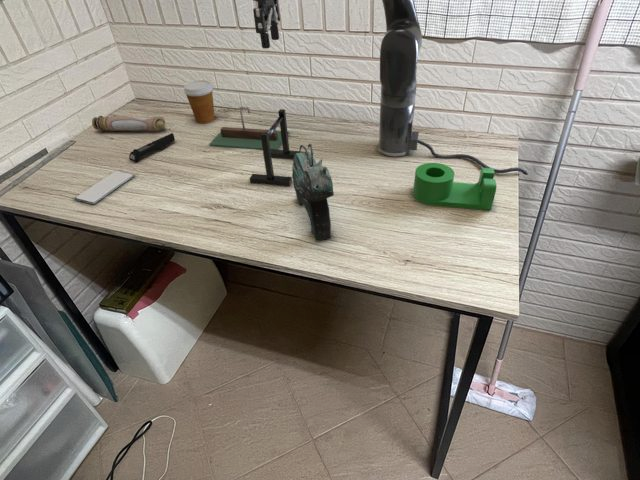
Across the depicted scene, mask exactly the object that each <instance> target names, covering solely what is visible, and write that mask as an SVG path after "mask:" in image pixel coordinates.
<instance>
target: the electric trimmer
mask: <svg viewBox="0 0 640 480" xmlns="http://www.w3.org/2000/svg"><path fill="white" fill-rule="evenodd" d="M174 141H175V133H173V132H171V133H169V134H167V135H164V136H163V137H160V138H158V139H155V140H153V141H151V142H149V143H147V144H145V145H143V146H140V147H138V148H134V149H133V150H132V151H130V153H129V156H128V159H129V160H130V162H132V163H139V162H140V160H141V159H143V158H145V157H147V156H149V155H150V154H152V153H154V152H156V151H160V150H162V149H164V148H165V147H167V146H168V145H170V144H172V143H173V142H174Z"/></svg>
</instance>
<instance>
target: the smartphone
mask: <svg viewBox="0 0 640 480" xmlns="http://www.w3.org/2000/svg"><path fill="white" fill-rule="evenodd" d="M134 176H135V175H134V174H133V173H130V172H126V171H121V170H113V171H112V172H111V173H109V174H108V175H106V176H105V177H104V178H102V179H101V180H99V181H97V182H96V183H95V184H93V185H92V186H90V187H88V188H87V189H85V190H84V191H83V192H81V193H78V195H76V196H74V200H76V201H79V202H83V203H85V204H86V203H87V204H89V205H94V204H97V203H98V202H99V201H101V200H102V199H103V198H106V197H107V196H108V195H109V194H111V193H112V192H114V191H115V190H116V189H117V188H119V187H121V186H122V185H123V184H125V183H126V182H128V181H129V180H131V179H132V178H133V177H134Z"/></svg>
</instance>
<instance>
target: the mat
mask: <svg viewBox="0 0 640 480" xmlns="http://www.w3.org/2000/svg"><path fill="white" fill-rule="evenodd" d="M287 132H288V135H289V134H290V131H288V130H287ZM277 137H278V138H277V140H276V141H272V140H269V143H270V149H276V150H280V147H281V146H282V138H281V130H277ZM208 145H209V147H221V148H232V149H233V148H234V149H246V150H259V151H260V150H261V151H263V148H262V141H261V140H257V139H243V138H228V137H222V135H221V131H220V132H218V134H217V135H216V136H215V138H213V139H212V141H211V142H210V143H209V144H208Z"/></svg>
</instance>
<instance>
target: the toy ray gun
mask: <svg viewBox="0 0 640 480" xmlns="http://www.w3.org/2000/svg"><path fill="white" fill-rule="evenodd" d="M307 147H308V149H309V148H310V149H309V150H310V152H309V151H308V149H307V148H306V146H305V145H304V144H301V145H300V146H299V150H298V151H299V153H296V154H295V155H294V159H292V160H293V161H292V166H291V167H292V171H291V172H292V175H291V177H292V184H293V189H294V191H295V194H296V200H297V203H298V204H299V206H303V207H304V209H305V212H306V213H307V216H308V219H309V222H310V230H311V234H312V236H313V237H314V240H315V242H319V241H325V240H328V239H331V238H332V237H331V236H332V234H331V233H332V231H331V230H332V229H331V227H332V222H331V214H330V207H329V202H328V201H329V200H328V198H331V197H334V195H335V193H334V185H333V179H332V176H331V172H330V170H329V169H328V168H327V166H325V165H323V158H321V159H320V160H319V161H318V162H317V161H316V159H315V157H314V150H313V145H312V143H309V144H308V145H307ZM302 149H304V152H301V151H302Z"/></svg>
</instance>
